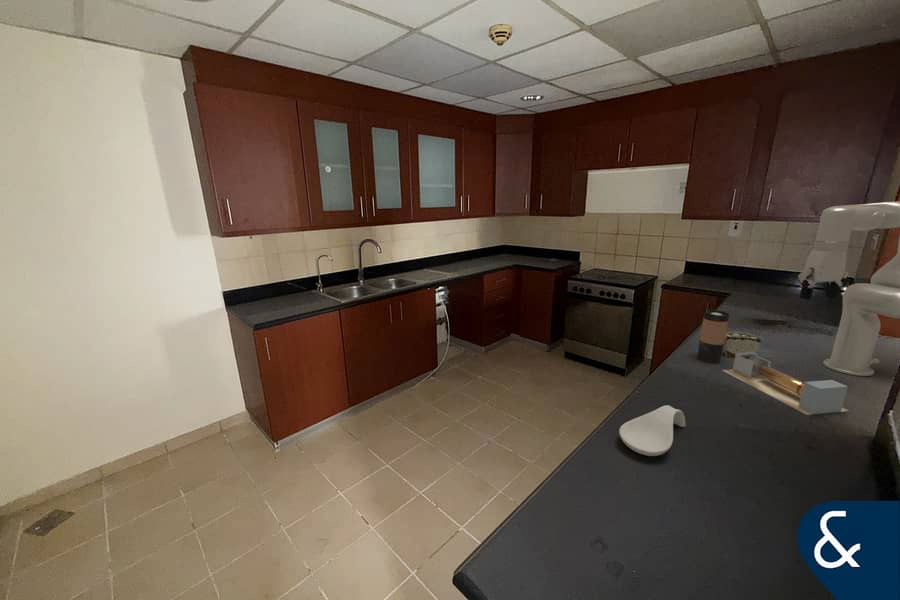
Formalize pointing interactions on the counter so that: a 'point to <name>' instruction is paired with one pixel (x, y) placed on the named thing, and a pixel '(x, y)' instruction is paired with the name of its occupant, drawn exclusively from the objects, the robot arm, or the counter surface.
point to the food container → (741, 343)
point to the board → (774, 391)
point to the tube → (781, 379)
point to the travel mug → (712, 336)
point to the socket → (823, 396)
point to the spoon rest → (652, 431)
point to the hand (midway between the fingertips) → (818, 298)
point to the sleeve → (749, 365)
